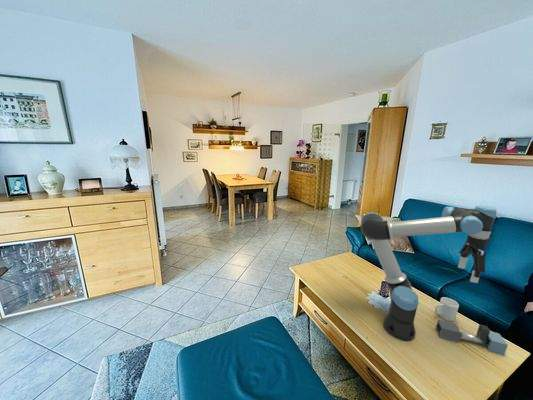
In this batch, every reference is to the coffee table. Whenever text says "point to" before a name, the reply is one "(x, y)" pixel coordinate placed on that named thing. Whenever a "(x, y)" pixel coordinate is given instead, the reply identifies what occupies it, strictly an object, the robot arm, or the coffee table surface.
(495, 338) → the socket
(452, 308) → the cup
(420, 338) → the coffee table surface
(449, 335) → the grey metal block
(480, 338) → the grey piece
